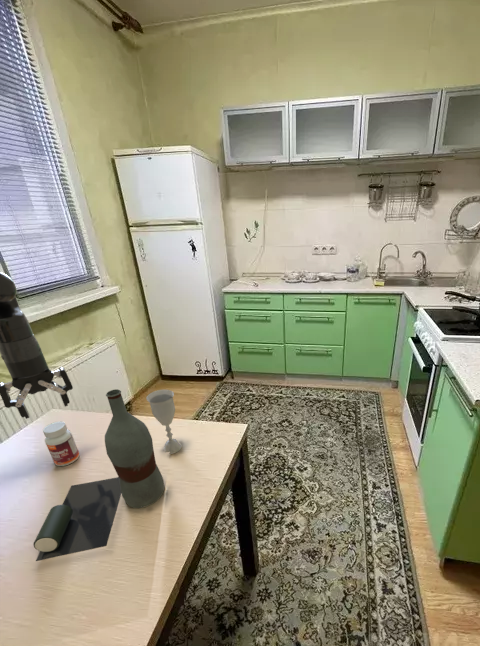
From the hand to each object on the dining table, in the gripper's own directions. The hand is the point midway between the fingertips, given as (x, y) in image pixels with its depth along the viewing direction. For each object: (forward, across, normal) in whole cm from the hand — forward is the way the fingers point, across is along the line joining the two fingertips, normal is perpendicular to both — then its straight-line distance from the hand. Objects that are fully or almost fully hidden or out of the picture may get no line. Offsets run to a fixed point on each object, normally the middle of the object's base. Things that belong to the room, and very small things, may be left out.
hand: (47, 410), depth 85 cm
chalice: (+17, -25, +15) cm, 33 cm away
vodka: (+17, -14, +29) cm, 36 cm away
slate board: (+16, -1, +26) cm, 31 cm away
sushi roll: (+15, +4, +28) cm, 32 cm away
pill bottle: (+17, 0, 0) cm, 17 cm away
